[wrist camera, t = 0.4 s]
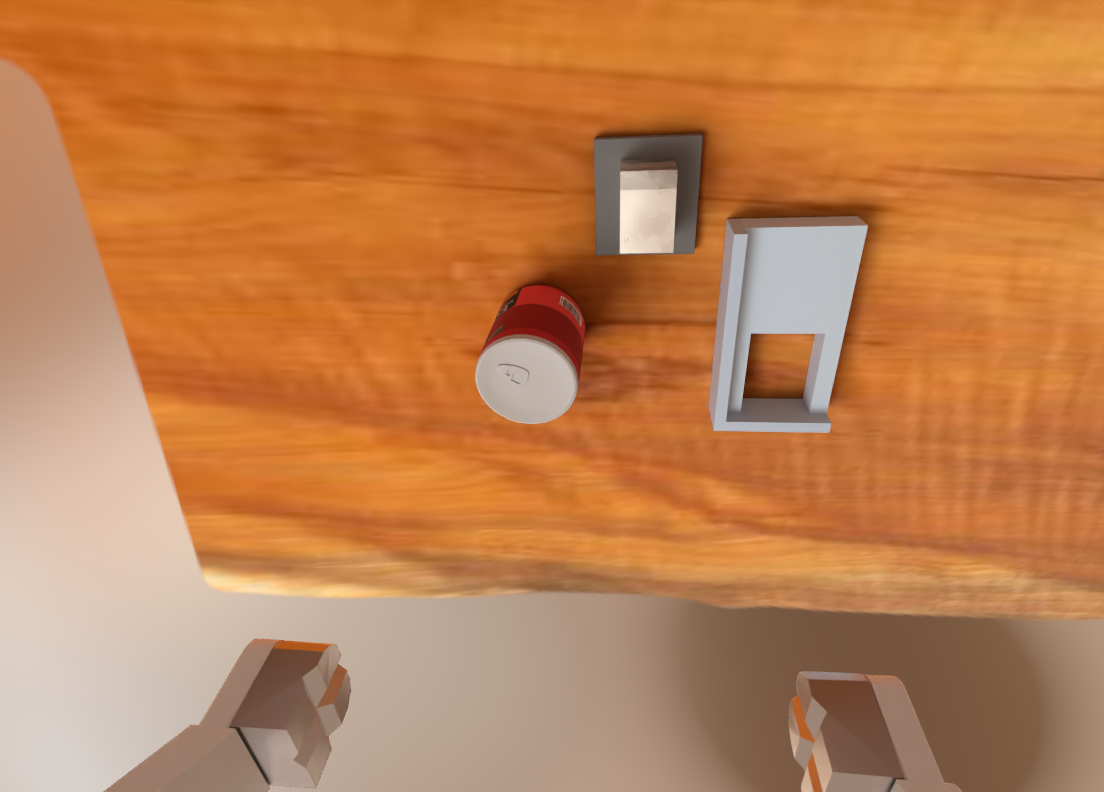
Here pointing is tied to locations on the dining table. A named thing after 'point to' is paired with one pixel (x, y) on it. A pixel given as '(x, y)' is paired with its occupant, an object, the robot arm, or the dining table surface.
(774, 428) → the grey slotted tray
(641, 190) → the white boxy piece
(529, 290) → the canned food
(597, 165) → the pad
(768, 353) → the dining table surface
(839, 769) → the robot arm
